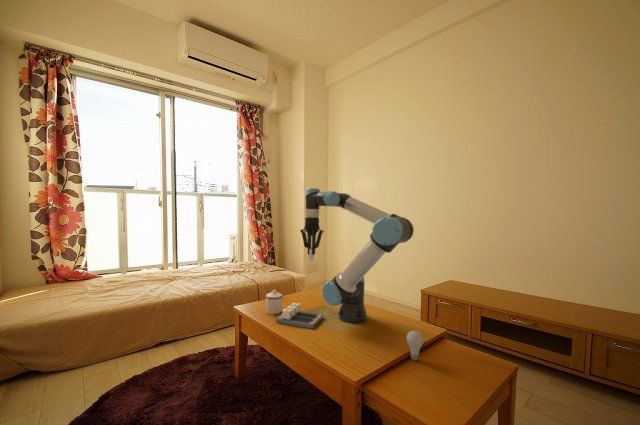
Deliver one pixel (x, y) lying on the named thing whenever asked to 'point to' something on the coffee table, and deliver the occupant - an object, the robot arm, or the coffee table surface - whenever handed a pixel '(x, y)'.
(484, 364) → the coffee table surface
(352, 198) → the robot arm
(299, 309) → the breaker
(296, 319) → the panel
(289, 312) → the breaker
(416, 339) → the lightbulb
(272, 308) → the teacup with lid
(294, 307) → the breaker
